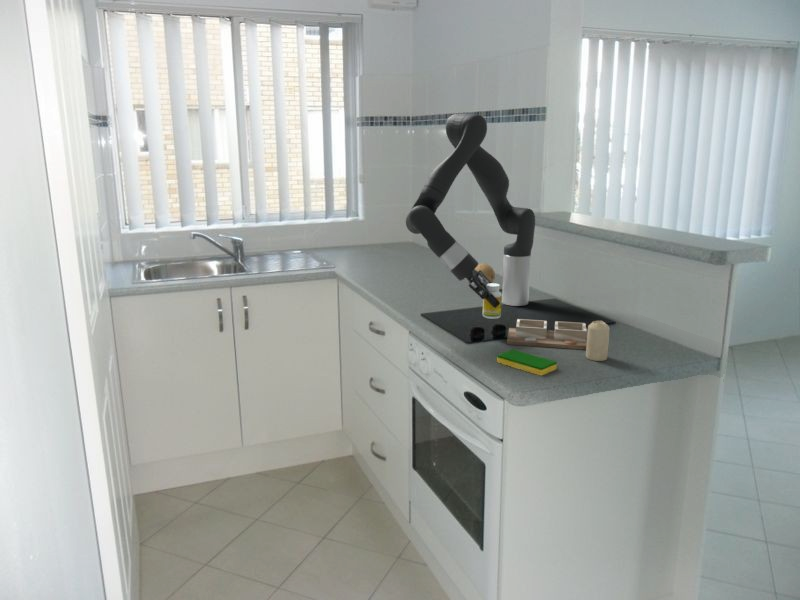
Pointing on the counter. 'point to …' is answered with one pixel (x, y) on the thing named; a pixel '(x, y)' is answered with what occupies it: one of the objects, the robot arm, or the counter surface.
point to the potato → (486, 271)
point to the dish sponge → (527, 362)
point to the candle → (597, 341)
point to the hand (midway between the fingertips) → (498, 302)
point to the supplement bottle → (487, 307)
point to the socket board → (548, 334)
